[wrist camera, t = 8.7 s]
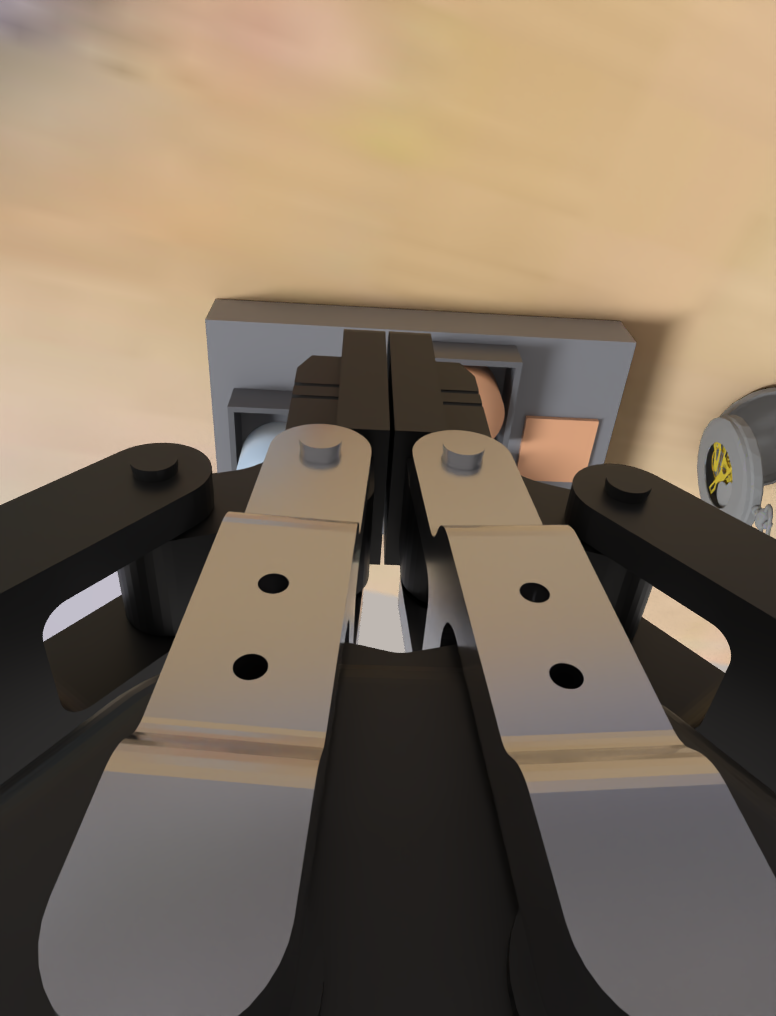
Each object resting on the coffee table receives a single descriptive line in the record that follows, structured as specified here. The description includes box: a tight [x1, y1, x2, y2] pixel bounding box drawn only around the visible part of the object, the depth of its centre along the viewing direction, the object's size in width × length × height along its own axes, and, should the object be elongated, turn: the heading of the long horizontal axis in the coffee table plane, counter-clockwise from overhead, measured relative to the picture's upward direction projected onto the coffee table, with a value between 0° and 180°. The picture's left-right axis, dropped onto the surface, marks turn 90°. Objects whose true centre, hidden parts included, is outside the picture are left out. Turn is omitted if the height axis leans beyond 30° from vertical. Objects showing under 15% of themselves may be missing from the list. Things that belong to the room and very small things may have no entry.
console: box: [205, 299, 636, 534], centre depth 42 cm, size 22×13×5 cm, turn 86°
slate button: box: [236, 422, 287, 470], centre depth 38 cm, size 4×4×2 cm
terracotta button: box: [463, 365, 505, 439], centre depth 38 cm, size 4×4×2 cm
